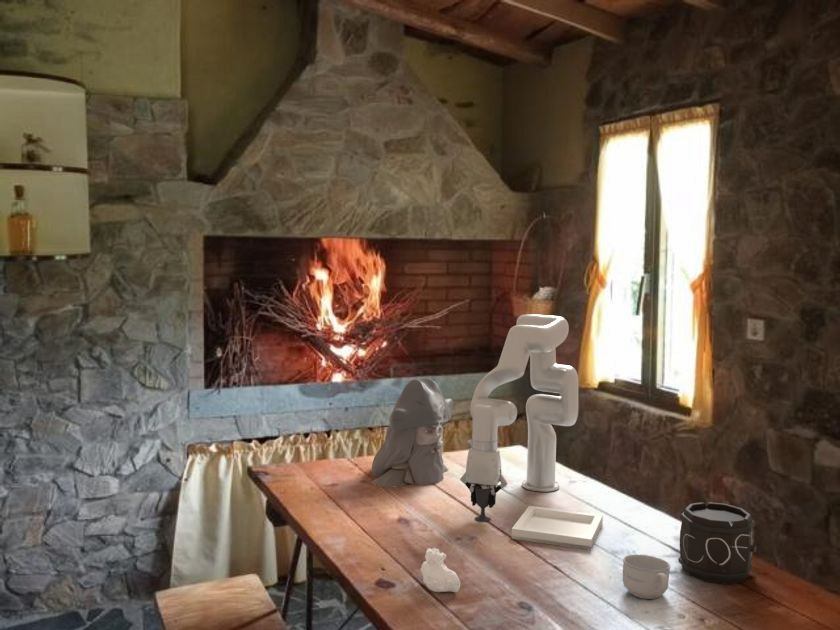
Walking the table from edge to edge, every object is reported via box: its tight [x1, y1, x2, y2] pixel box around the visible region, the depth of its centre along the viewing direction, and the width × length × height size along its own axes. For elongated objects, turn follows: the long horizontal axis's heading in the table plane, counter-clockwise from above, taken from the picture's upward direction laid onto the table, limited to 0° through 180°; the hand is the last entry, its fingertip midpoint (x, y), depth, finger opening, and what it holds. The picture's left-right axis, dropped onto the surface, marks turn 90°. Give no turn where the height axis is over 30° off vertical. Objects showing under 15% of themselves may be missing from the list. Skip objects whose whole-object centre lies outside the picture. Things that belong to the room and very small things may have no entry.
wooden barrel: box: [678, 501, 758, 586], centre depth 211 cm, size 18×18×16 cm
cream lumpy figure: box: [419, 547, 461, 593], centre depth 198 cm, size 12×8×11 cm
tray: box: [511, 505, 604, 551], centre depth 240 cm, size 22×22×3 cm
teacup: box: [622, 554, 671, 600], centre depth 196 cm, size 14×11×8 cm
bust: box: [371, 377, 454, 488], centre depth 293 cm, size 34×34×35 cm
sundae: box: [473, 484, 495, 523], centre depth 249 cm, size 7×7×15 cm
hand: (483, 504), depth 249 cm, fingers closed on sundae, 4 cm apart
